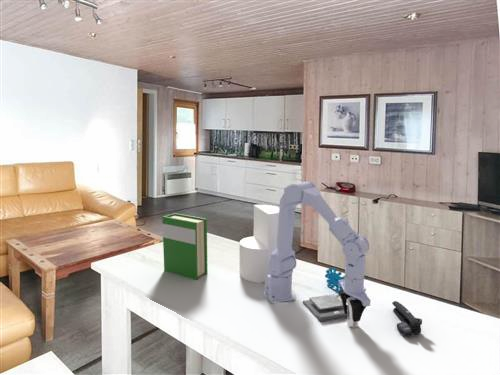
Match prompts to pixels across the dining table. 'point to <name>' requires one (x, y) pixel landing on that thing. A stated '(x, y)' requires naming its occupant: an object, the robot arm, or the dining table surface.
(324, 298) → the scale pan
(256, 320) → the dining table surface
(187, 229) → the hardback book
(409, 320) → the can opener
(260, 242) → the white tall piece
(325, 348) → the dining table surface
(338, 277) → the gear
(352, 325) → the milkshake
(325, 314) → the scale base
